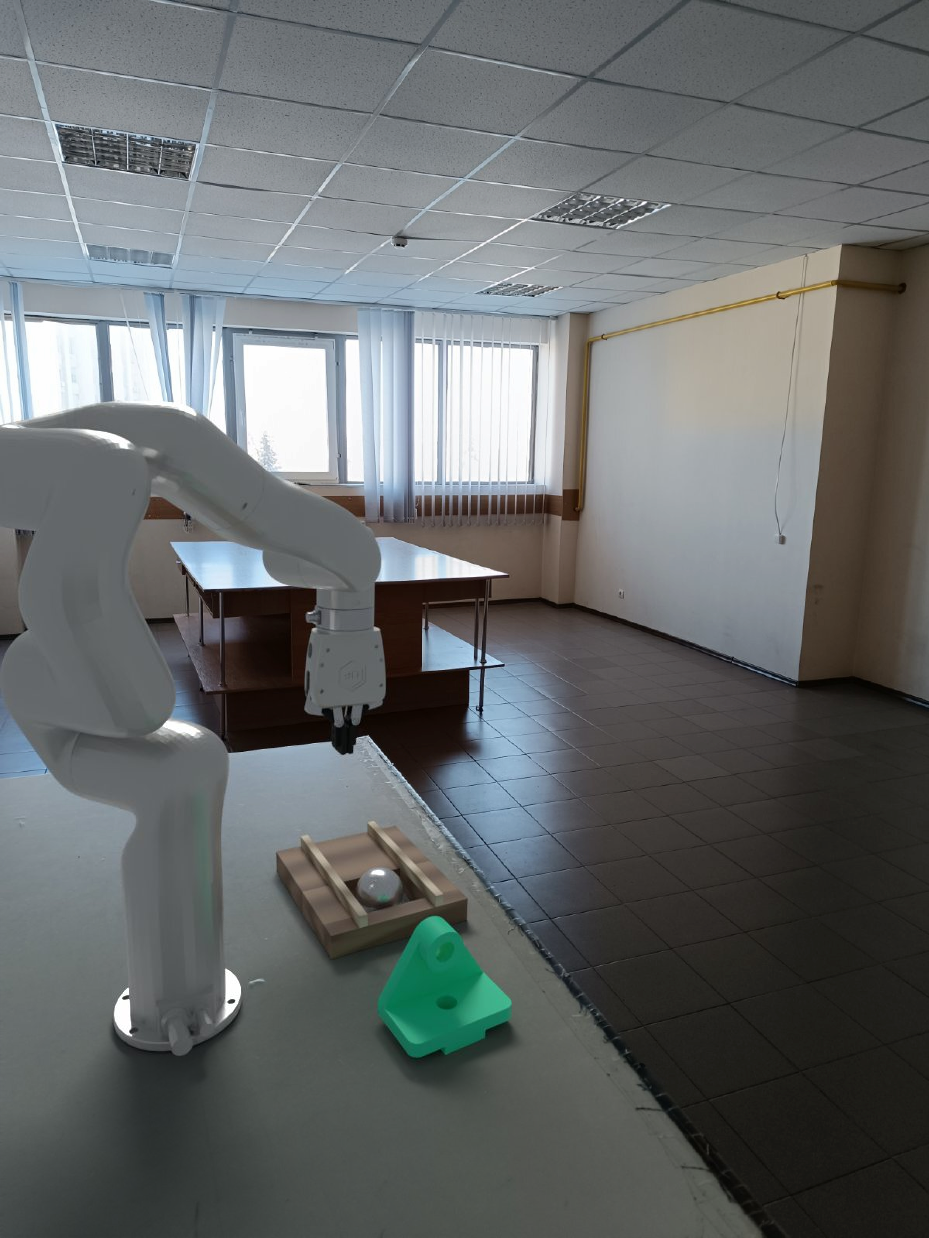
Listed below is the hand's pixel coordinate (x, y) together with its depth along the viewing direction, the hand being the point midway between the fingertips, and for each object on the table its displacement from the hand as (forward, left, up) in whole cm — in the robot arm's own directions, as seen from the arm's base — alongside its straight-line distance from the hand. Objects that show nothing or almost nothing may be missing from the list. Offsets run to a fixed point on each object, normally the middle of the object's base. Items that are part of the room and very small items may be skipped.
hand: (343, 750), depth 110 cm
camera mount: (-34, +2, -18) cm, 39 cm away
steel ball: (-12, 0, -15) cm, 19 cm away
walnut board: (-8, 0, -18) cm, 19 cm away
